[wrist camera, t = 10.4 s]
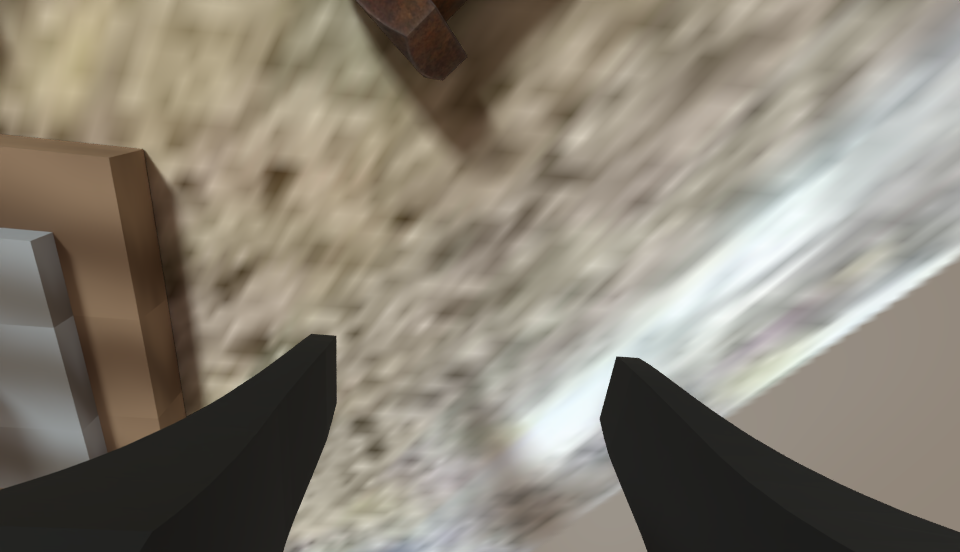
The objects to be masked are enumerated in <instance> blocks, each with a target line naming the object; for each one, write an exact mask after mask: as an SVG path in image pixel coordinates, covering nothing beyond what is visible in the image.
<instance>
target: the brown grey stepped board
mask: <svg viewBox="0 0 960 552" xmlns="http://www.w3.org/2000/svg"><path fill="white" fill-rule="evenodd" d="M184 418H186V413H185V407H184V401H183V395H182V388H181V382H180V376H179V370H178V363H177V357H176V351H175V345H174V338H173V332H172V326H171V320H170V313H169V307H168V301H167V295H166V288H165V282H164V276H163V270H162V263H161V257H160V251H159V245H158V238H157V232H156V226H155V220H154V213H153V207H152V201H151V195H150V188H149V182H148V176H147V169H146V163H145V157H144V151H143V149H136V148H127V147H117V146H108V145H98V144H89V143H79V142H70V141H60V140H51V139H41V138H32V137H22V136H13V135H3V134H0V489H4V488H7V487H10V486H13V485H17V484H20V483H23V482H26V481H29V480H33V479H36V478H39V477H42V476H45V475H48V474H51V473H54V472H57V471H60V470H63V469H66V468H69V467H71V466H74V465H77V464H79V463H82V462H85V461H88V460H90V459H93V458H96V457H98V456H101V455H103V454H106V453H108V452H111V451H113V450H116V449H118V448H121V447H123V446H126V445H128V444H130V443H132V442H135V441H137V440H139V439H141V438H143V437H146V436H148V435H150V434H152V433H154V432H156V431H159V430H161V429H163V428H165V427H167V426H170V425H172V424H174V423H176V422H178V421H180V420H182V419H184Z"/></svg>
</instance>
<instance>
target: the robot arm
mask: <svg viewBox="0 0 960 552" xmlns="http://www.w3.org/2000/svg"><path fill="white" fill-rule="evenodd" d="M336 403H337V383H336V336H331V335H318V334H311V335H309V336H308V337H306V338H305V339H304V340H302V341H301V342H300V343H298V344H297V345H296V346H295V347H293V348H292V349H291V350H289V351H288V352H287V353H285V354H284V355H283V356H281V357H280V358H279V359H277V360H276V361H275V362H273V363H272V364H270V365H269V366H268V367H266V368H265V369H264V370H262V371H261V372H260V373H258V374H257V375H255V376H254V377H252V378H251V379H249V380H247V381H246V382H244V383H243V384H241V385H240V386H238V387H237V388H235V389H234V390H232V391H231V392H229V393H228V394H226V395H225V396H223V397H221V398H220V399H218V400H216V401H215V402H213V403H211V404H209V405H208V406H206V407H204V408H202V409H200V410H199V411H197V412H195V413H193V414H191V415H189V416H187V417H186V418H184V419H182V420H180V421H178V422H176V423H174V424H172V425H170V426H167V427H165V428H163V429H161V430H159V431H156V432H154V433H152V434H150V435H148V436H146V437H143V438H141V439H139V440H137V441H135V442H132V443H130V444H128V445H126V446H123V447H121V448H118V449H116V450H113V451H111V452H108V453H106V454H103V455H101V456H98V457H96V458H93V459H90V460H88V461H85V462H82V463H79V464H77V465H74V466H71V467H69V468H66V469H63V470H60V471H57V472H54V473H51V474H48V475H45V476H42V477H39V478H36V479H33V480H29V481H26V482H23V483H20V484H17V485H13V486H10V487H7V488H4V489H0V552H283V550H284V547H285V544H286V540H287V538H288V535H289V532H290V529H291V527H292V524H293V521H294V519H295V516H296V514H297V511H298V509H299V507H300V504H301V502H302V499H303V497H304V494H305V492H306V490H307V487H308V485H309V482H310V480H311V477H312V475H313V473H314V470H315V468H316V465H317V463H318V460H319V458H320V455H321V453H322V450H323V448H324V445H325V443H326V440H327V437H328V434H329V430H330V426H331V423H332V419H333V415H334V411H335V407H336ZM600 422H601V427H602V431H603V435H604V439H605V443H606V447H607V450H608V454H609V457H610V459H611V462H612V464H613V467H614V469H615V472H616V474H617V477H618V479H619V482H620V484H621V487H622V489H623V491H624V494H625V496H626V499H627V501H628V503H629V506H630V508H631V511H632V513H633V516H634V518H635V520H636V523H637V525H638V528H639V530H640V533H641V535H642V538H643V540H644V543H645V546H646V549H647V552H960V532H957V531H955V530H952V529H949V528H947V527H944V526H941V525H938V524H936V523H933V522H930V521H927V520H925V519H922V518H919V517H917V516H914V515H911V514H909V513H906V512H904V511H901V510H898V509H896V508H894V507H891V506H889V505H887V504H884V503H882V502H880V501H877V500H875V499H873V498H870V497H868V496H865V495H863V494H861V493H859V492H856V491H854V490H852V489H850V488H847V487H845V486H843V485H841V484H839V483H837V482H835V481H833V480H831V479H829V478H827V477H825V476H823V475H821V474H819V473H817V472H815V471H813V470H811V469H809V468H806V467H805V466H803V465H801V464H799V463H797V462H795V461H793V460H791V459H790V458H788V457H786V456H784V455H782V454H780V453H779V452H777V451H775V450H773V449H772V448H770V447H769V446H767V445H765V444H763V443H762V442H760V441H758V440H756V439H755V438H753V437H752V436H750V435H748V434H747V433H745V432H744V431H742V430H740V429H739V428H737V427H736V426H734V425H733V424H731V423H730V422H728V421H727V420H725V419H724V418H722V417H721V416H719V415H718V414H717V413H715V412H714V411H712V410H711V409H709V408H708V407H707V406H705V405H704V404H702V403H701V402H700V401H698V400H697V399H696V398H694V397H693V396H691V395H690V394H689V393H687V392H686V391H685V390H683V389H682V388H681V387H679V386H678V385H677V384H675V383H674V382H673V381H671V380H670V379H669V378H667V377H666V376H665V375H663V374H662V373H660V372H659V371H658V370H656V369H655V368H653V367H652V366H651V365H649V364H648V363H646V362H645V361H643V360H641V359H640V358H630V357H616V360H615V364H614V368H613V371H612V375H611V379H610V383H609V386H608V390H607V394H606V397H605V401H604V405H603V409H602V412H601V416H600Z"/></svg>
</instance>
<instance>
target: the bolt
mask: <svg viewBox="0 0 960 552" xmlns="http://www.w3.org/2000/svg"><path fill="white" fill-rule="evenodd" d="M356 1H357V3H358V4H359V5H360V6H361V7H362V8H363V9H364V10H365V12H366V13H367V14H368V15H369V16H370V17H371V18H372V20H373V21H374V22H375V23H376V24H377V25H378V26H379V27H380V29H381V30H382V31H383V32H384V33H385V34H386V35H387V36H388V38H389V39H390V40H391V41H392V42H393V43H394V44H395V45H396V47H397V48H398V49H399V50H400V51H401V52H402V53H403V54H404V55H405V57H406V58H407V59H408V60H409V61H410V62H411V63H412V64H413V66H414V67H415V68H416V70H417V71H418V72H419V73H420V74H421V75H423V76H424V77H426V78H431V79H437V80H444V79H445V78H446V77H447V76H448V75H449V74H450V73H451V72H452V71H453V70H454V69H455V68H456V67H457V66H458V65H459V64H460V63H462V62H463V61H464V60H465V59H466V58H467V54H466V53H465V51H464V50H463V48H462V47H461V45H460V43H459V42H458V40H457V39H456V37H455V35H454V34H453V32H452V31H451V29H450V28H449V26H448V24H447V23H446V21H447V20H448V19H449V18H450V17H451V16H452V15H453V14H454V13H455V12H456V11H457V10H458V9H459V8H460V7H461V6H462V5H463V4H464V3H465V2H466V1H467V0H356Z"/></svg>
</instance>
